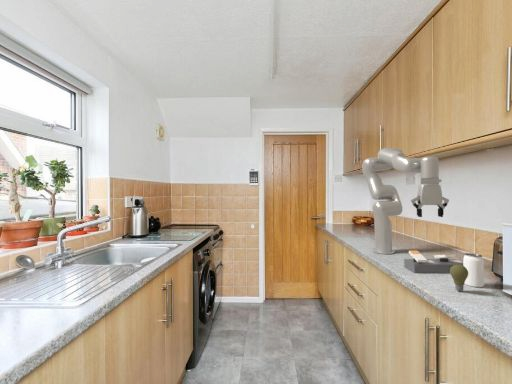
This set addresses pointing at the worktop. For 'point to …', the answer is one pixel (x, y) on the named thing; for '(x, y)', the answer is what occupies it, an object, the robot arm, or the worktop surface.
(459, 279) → the light bulb
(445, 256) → the rocker
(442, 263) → the switch panel
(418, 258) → the rocker
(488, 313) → the worktop surface
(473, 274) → the can
